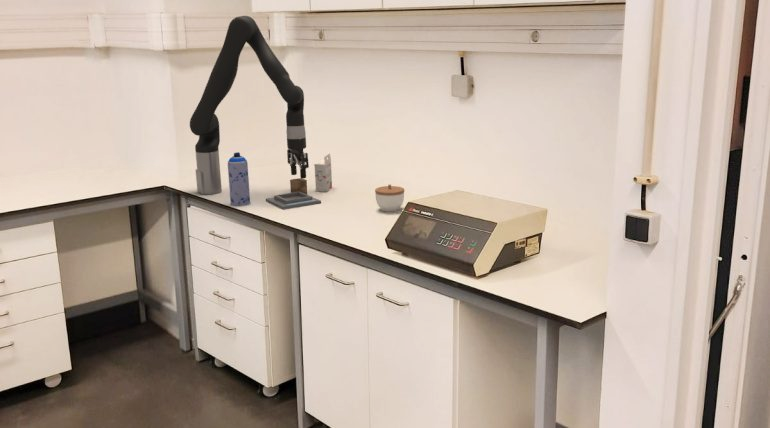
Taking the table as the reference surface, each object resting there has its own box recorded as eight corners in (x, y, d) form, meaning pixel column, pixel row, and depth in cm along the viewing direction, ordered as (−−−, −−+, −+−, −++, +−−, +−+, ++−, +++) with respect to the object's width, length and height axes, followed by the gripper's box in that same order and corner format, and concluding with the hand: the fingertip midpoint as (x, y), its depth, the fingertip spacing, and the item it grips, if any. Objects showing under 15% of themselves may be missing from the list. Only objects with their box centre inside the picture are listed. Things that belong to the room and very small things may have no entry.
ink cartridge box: (321, 187, 302) (319, 152, 299) (332, 187, 301) (331, 153, 298) (315, 191, 294) (313, 156, 290) (326, 192, 293) (325, 156, 289)
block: (296, 196, 287) (295, 181, 286) (290, 194, 291) (290, 179, 290) (307, 194, 290) (306, 180, 288) (301, 192, 294) (301, 178, 292)
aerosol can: (239, 200, 282) (235, 150, 277) (254, 202, 278) (251, 151, 273) (225, 205, 275) (221, 153, 270) (241, 207, 271) (237, 155, 266)
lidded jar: (398, 214, 257) (397, 189, 255) (370, 211, 261) (370, 186, 259) (408, 207, 267) (408, 182, 264) (382, 205, 271) (381, 180, 269)
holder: (283, 209, 267) (282, 203, 266) (265, 201, 280) (265, 195, 279) (321, 203, 275) (320, 196, 275) (302, 195, 288) (302, 189, 288)
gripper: (280, 135, 288) (282, 175, 292) (295, 139, 277) (298, 180, 281) (296, 133, 292) (299, 172, 296) (312, 137, 281) (315, 178, 285)
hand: (298, 176), depth 289 cm, fingers open, 8 cm apart
